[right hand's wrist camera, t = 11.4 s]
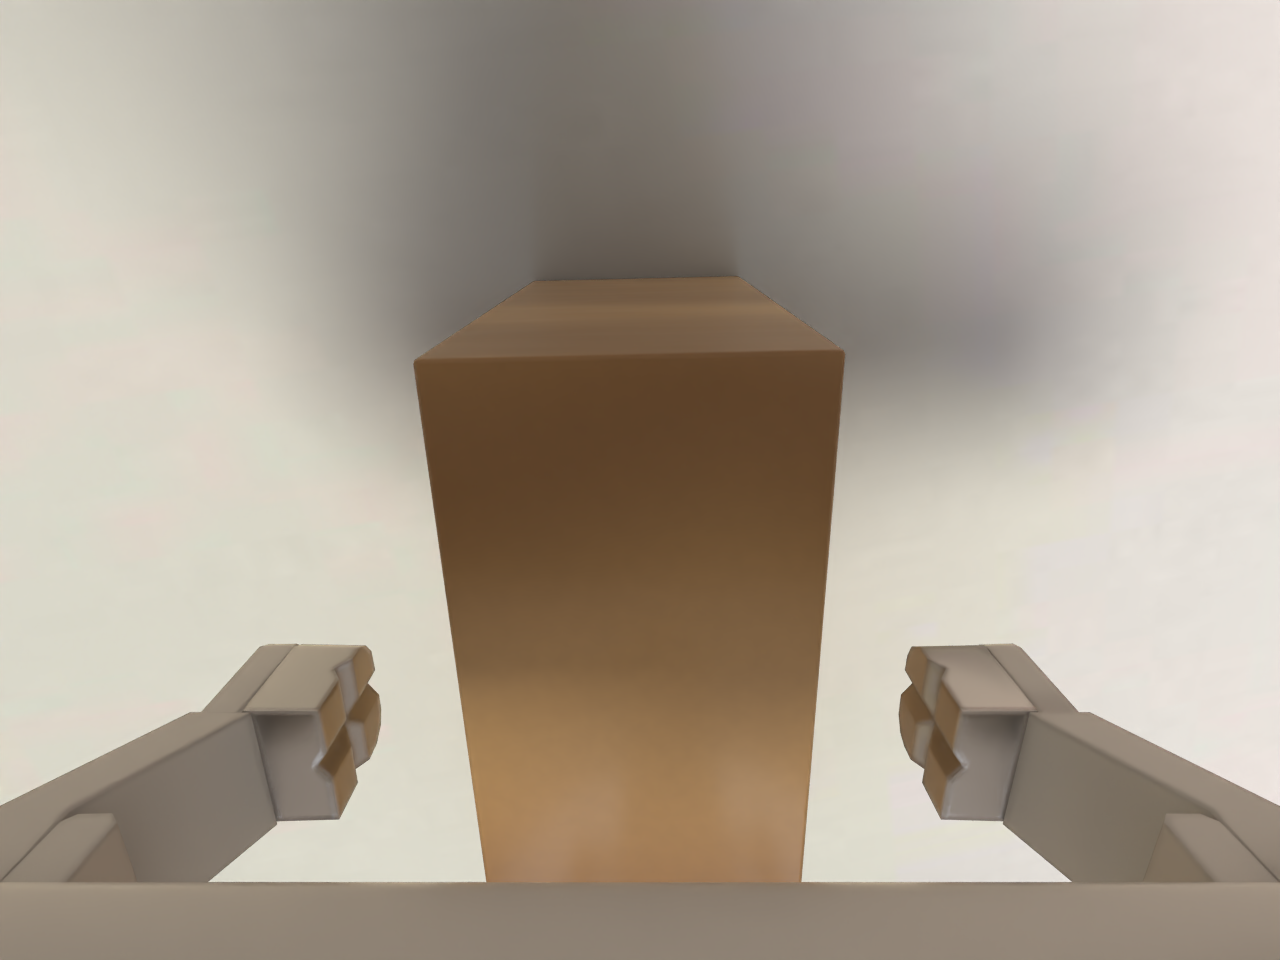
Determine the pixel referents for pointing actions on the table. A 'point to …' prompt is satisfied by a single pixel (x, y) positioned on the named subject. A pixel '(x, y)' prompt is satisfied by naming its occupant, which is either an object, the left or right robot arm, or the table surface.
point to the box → (636, 573)
